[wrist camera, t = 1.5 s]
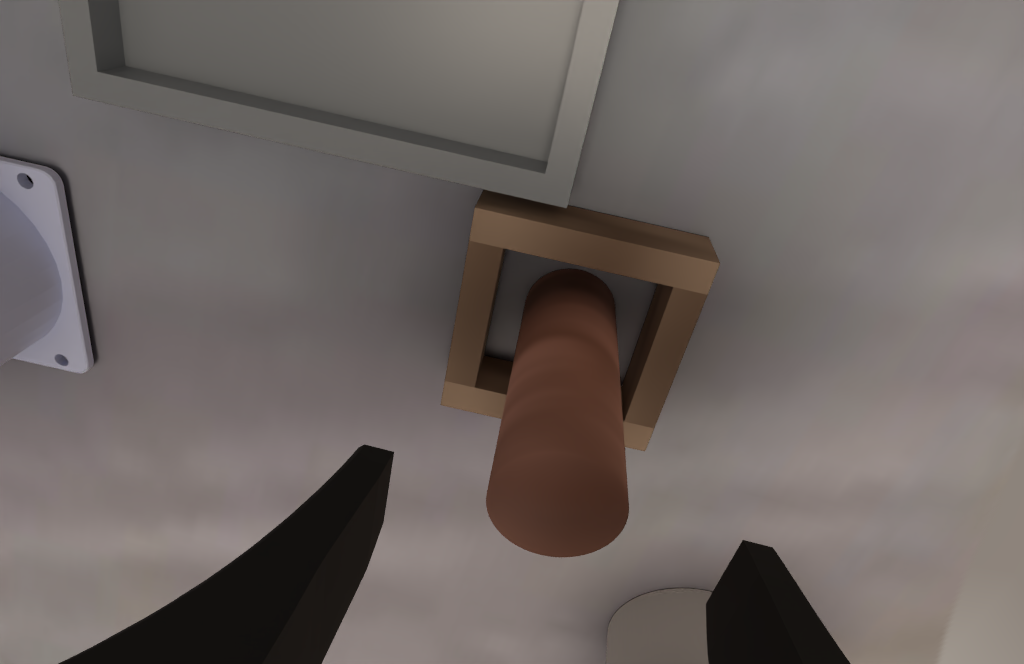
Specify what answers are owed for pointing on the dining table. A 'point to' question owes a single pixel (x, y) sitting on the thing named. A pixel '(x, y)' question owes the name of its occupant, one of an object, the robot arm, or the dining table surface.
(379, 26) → the tray
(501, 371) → the collar
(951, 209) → the dining table surface
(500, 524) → the dowel
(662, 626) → the coffee cup
